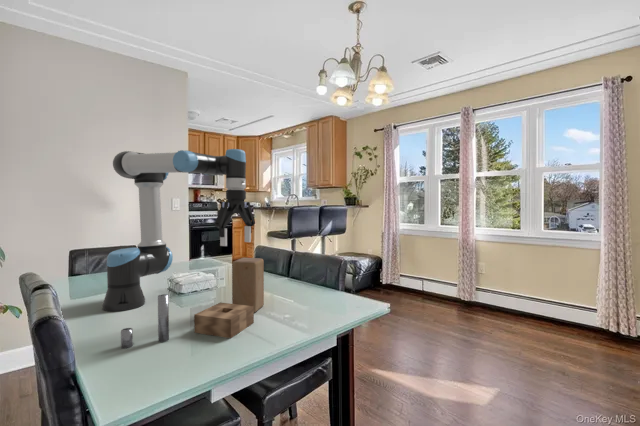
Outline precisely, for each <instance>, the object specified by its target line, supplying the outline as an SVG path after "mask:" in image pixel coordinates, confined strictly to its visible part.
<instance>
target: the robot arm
mask: <svg viewBox="0 0 640 426" xmlns="http://www.w3.org/2000/svg"><path fill="white" fill-rule="evenodd" d="M246 157H247V156H246V152H245V150H243V149H238V148H229V149H226V151H225V155H210V154H206V153H205V154H204V153H199V152H194V151H191V150H182V149H181V150H177V152H176V151H175V152H154V153H153V152H152V153H144V152H137V151H136V152H135V151H129V150H128V151H127V150H126V151H125V150H124V151H121V152H119V153H117V154H116V155H115V156H114V157H113V160H112V167H113V170H114V171H115V172H116V173H117V175H119V176H120V177H122V178H124V179H130V180H134V185H135V186H136V187H137V188H138V199H139V200H138V202H139V204H138V205H139V222H140V223H139V224H140V225H139V226H140V227H139V228H140V242H139V243H138V244H137V247H127V248H120V249H119V248H118V249H116V250H113V251H110V252H109V253H108V255H107V257H106V273H107V274H106V278H107V281H106V282H107V283H106V284H107V290H106V293H105V296H104V300H103V302H102V310H103V311H105V312H106V311H107V312H123V311H129V310H133V309H137V308H140V307H141V306H143V305H145V303H146V297H145V295H144V292H143V289H142V286H141V278H143V277H146V276H151V275H155V274H156V275H157V274H160V273H164V272H166V271H167V270H168V269H169V268H171V265H172V263H173V252H172V251H171V248H169V247H167V242H165V241H164V240H163V230H162V229H163V228H162V206H161V205H162V203H161V202H162V201H161V187H162V186H163V185H164V181H165V180H167V178H168V176H169V173H194V174H202V175H205V176H211V177H212V176H223V175H225V188H226V191H225V199H226V200H227V201H221V202H220V208H219V212H218V213H217V217H216V219H215V223H214V227H215V228H217V229H218V237H219V240H220V241H219V242H220V243H219V246H220V247H228V228H226V227H227V225H228V224H229V221H231V218H232V216H233V215H235V214H238V215H239V216H240V218H241V219H242V221H243V223H244V224H245V225H244V243H251V242H252V227H254V225H255V224H256V221H255V217H254V214H253V211H252V209H251V202H250V201H245V200H246V199H247V191H246V190H245V189H246V188H247V185H246V183H247V181H246V180H247V178H246V176H247V175H246V172H247V171H246V170H247V169H246V168H247V167H246V166H247V158H246Z"/></svg>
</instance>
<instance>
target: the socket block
mask: <svg viewBox="0 0 640 426" xmlns="http://www.w3.org/2000/svg"><path fill="white" fill-rule="evenodd" d="M254 315H255V312H254V306H246V305H238V304H232V303H229V302H218V303H216V304H214V305H212V306H209V307H207V308H205V309H203V310H201V311H200V312H197V313H195V314H194V318H193V319H194V320H193V321H194V326H193V327H194V333H195V334H201V335H207V336H215V337H219V338H226V339H232V338H234V337H235V336H236V335H238V334H239V333H241V332H242V331H244V330H246V329H247V328H248V327H250V326H251V325H253V324H254V323H255V318H254Z"/></svg>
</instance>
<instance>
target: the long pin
mask: <svg viewBox="0 0 640 426" xmlns="http://www.w3.org/2000/svg"><path fill="white" fill-rule="evenodd" d="M169 298H170V297H169V294H167V293H166V294H165V293H164V294H158V295H157V331H158V334H157V335H158V339H157V340H158V343H167V342H168V341H170V322H169V321H170V315H169V314H170V309H169V304H170V303H169Z"/></svg>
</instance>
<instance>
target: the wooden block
mask: <svg viewBox="0 0 640 426" xmlns="http://www.w3.org/2000/svg"><path fill="white" fill-rule="evenodd" d="M264 261H265V260H264V259H263V258H262V257H261V258H258V257H257V258H256V257H241V258H238V259H236V260H233V261H232V263H231V288H232V289H231V294H232V295H231V296H232V297H231V298H232V299H231V300H232V301H231V304H238V305H246V306H254V313H256V312H257V311H259V310H260V309H261V308H262V307H263V306H264V305H265V294H264V293H265V291H264V289H265V286H264V285H265V282H264V281H265V278H264V276H265V273H264V272H265V271H264V269H265V266H264V265H265V264H264V263H265V262H264Z"/></svg>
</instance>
